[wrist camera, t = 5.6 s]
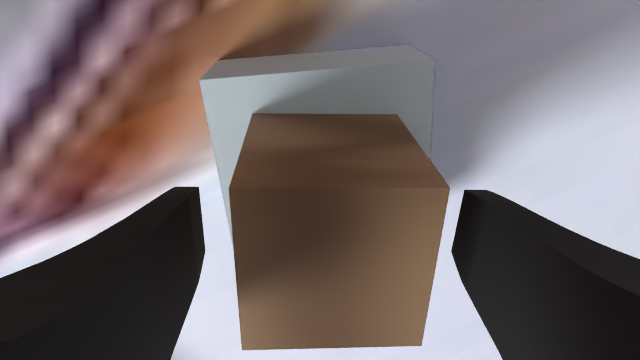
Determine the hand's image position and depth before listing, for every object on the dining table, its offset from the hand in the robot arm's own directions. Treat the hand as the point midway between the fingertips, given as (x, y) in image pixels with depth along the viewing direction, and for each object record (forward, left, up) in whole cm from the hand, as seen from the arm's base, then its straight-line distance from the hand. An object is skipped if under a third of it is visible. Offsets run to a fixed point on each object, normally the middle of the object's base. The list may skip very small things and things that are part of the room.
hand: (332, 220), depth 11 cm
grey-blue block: (0, 0, -6) cm, 6 cm away
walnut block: (0, 0, -3) cm, 3 cm away
